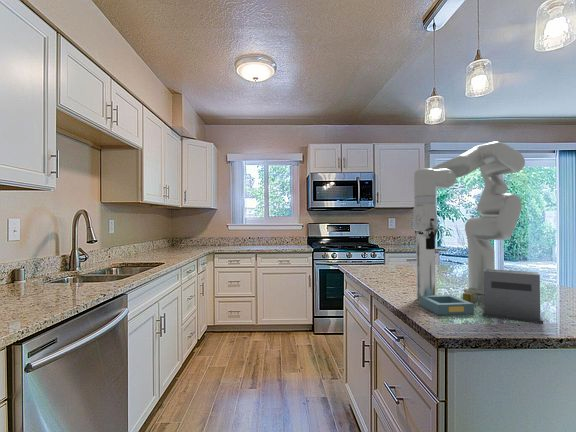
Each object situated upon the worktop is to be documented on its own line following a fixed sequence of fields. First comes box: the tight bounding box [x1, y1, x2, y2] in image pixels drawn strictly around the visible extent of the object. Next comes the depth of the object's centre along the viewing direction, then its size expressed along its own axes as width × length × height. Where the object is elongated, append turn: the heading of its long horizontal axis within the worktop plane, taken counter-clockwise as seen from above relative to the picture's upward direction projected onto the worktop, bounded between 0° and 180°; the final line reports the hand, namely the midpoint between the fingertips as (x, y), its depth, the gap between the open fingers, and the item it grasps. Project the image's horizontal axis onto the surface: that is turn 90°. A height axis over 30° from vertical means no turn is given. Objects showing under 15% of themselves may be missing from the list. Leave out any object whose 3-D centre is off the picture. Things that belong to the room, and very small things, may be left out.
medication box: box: [462, 288, 478, 304], centre depth 118 cm, size 12×3×4 cm, turn 140°
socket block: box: [418, 294, 475, 317], centre depth 106 cm, size 12×12×4 cm
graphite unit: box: [481, 269, 544, 325], centre depth 99 cm, size 8×15×14 cm, turn 58°
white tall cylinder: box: [415, 233, 436, 301], centre depth 121 cm, size 6×6×25 cm
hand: (425, 247), depth 121 cm, fingers closed on white tall cylinder, 6 cm apart
